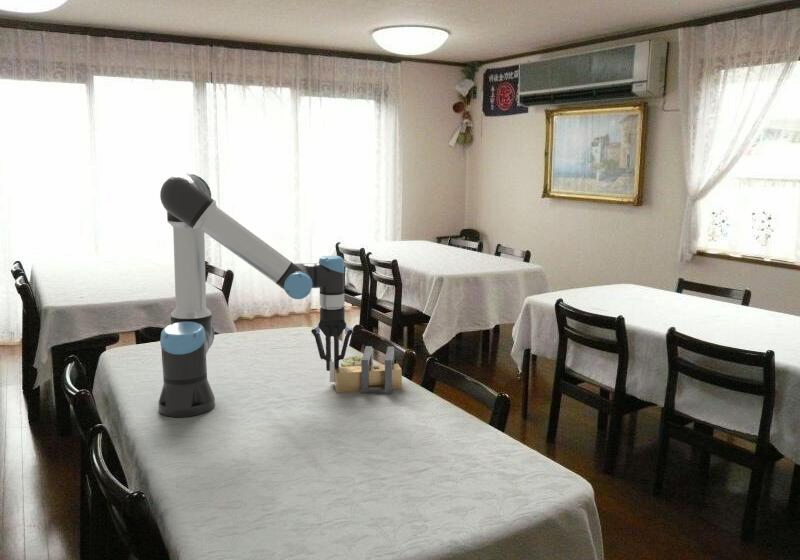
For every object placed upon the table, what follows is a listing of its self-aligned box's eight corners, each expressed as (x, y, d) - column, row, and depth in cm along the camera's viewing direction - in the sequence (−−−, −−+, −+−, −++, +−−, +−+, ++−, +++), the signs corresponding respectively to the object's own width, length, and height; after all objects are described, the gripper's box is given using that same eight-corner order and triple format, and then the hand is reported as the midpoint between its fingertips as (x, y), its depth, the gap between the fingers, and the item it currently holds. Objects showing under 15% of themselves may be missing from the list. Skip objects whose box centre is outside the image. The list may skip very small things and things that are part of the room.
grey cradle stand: (391, 394, 195) (391, 360, 193) (361, 393, 196) (361, 359, 194) (393, 378, 209) (394, 346, 208) (366, 377, 210) (365, 346, 208)
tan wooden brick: (336, 392, 196) (336, 372, 195) (334, 385, 202) (334, 366, 201) (401, 388, 200) (401, 368, 199) (397, 381, 206) (397, 363, 205)
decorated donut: (334, 368, 220) (334, 357, 219) (361, 362, 226) (360, 352, 226) (352, 376, 212) (352, 365, 211) (378, 370, 218) (378, 359, 218)
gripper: (354, 304, 202) (354, 377, 206) (313, 303, 203) (314, 376, 207) (352, 309, 195) (352, 385, 199) (308, 309, 195) (310, 384, 200)
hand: (332, 380), depth 203 cm, fingers closed
